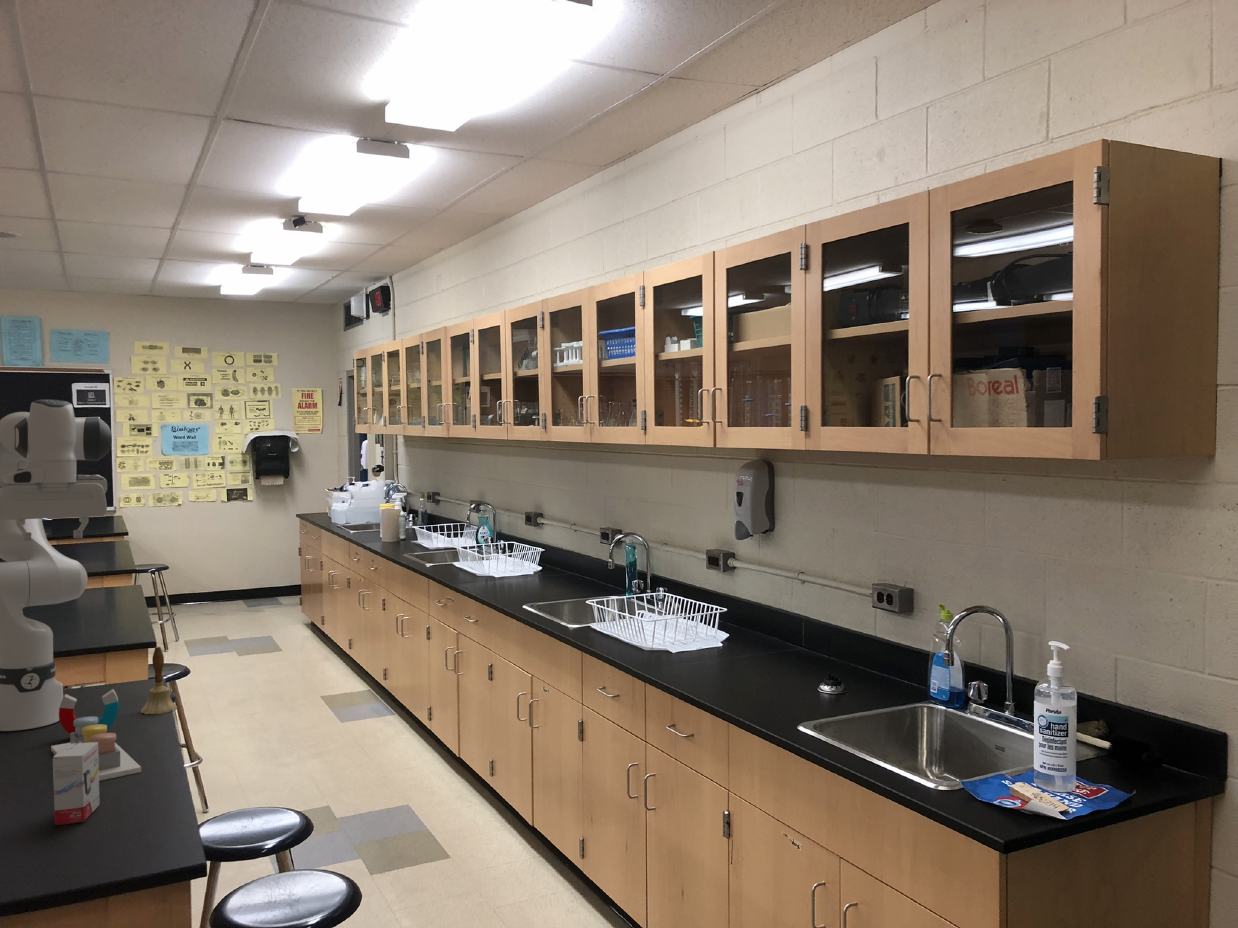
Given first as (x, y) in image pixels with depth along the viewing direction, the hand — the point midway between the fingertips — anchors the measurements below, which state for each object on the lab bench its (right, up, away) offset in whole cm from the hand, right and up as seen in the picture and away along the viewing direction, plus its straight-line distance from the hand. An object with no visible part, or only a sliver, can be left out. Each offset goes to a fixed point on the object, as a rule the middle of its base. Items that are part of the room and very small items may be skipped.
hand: (52, 539), depth 193 cm
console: (+11, -46, -4) cm, 48 cm away
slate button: (+6, -44, +2) cm, 44 cm away
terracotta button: (+17, -44, -10) cm, 48 cm away
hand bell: (+5, -46, +35) cm, 58 cm away
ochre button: (+11, -44, -4) cm, 45 cm away
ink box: (+25, -46, -33) cm, 62 cm away
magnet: (0, -46, +13) cm, 48 cm away
